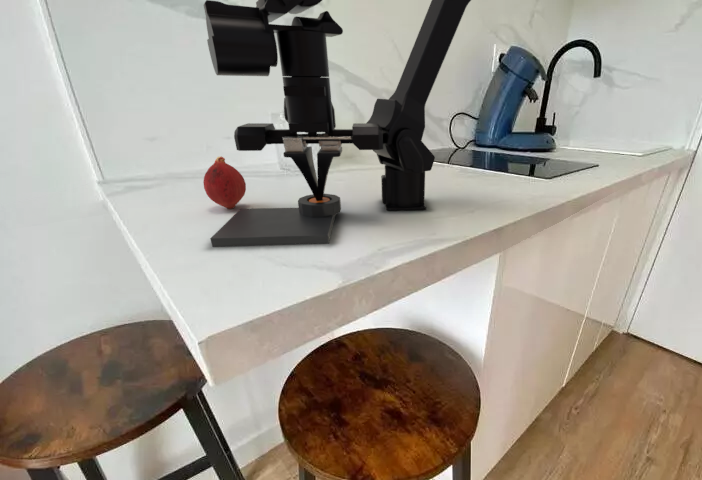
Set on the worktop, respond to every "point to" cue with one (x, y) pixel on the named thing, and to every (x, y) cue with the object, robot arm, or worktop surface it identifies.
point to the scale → (281, 225)
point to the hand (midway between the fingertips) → (319, 199)
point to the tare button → (319, 200)
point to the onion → (224, 184)
